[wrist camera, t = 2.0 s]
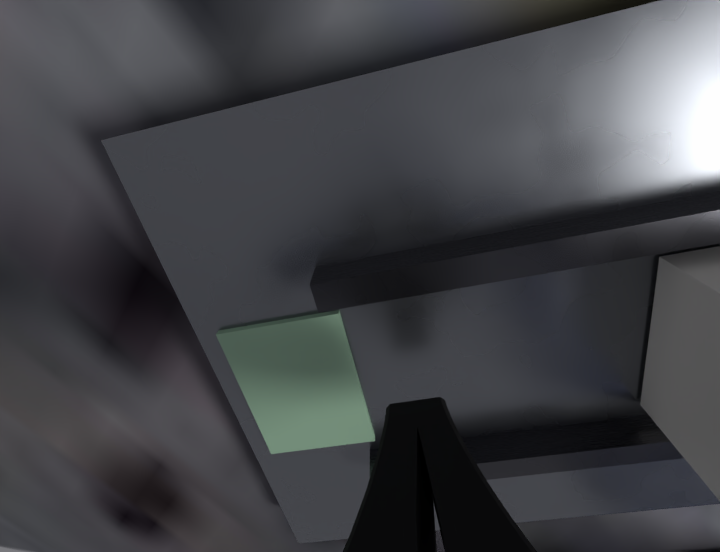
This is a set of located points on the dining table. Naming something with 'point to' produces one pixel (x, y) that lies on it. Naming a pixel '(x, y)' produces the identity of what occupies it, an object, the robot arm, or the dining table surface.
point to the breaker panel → (450, 258)
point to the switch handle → (687, 359)
